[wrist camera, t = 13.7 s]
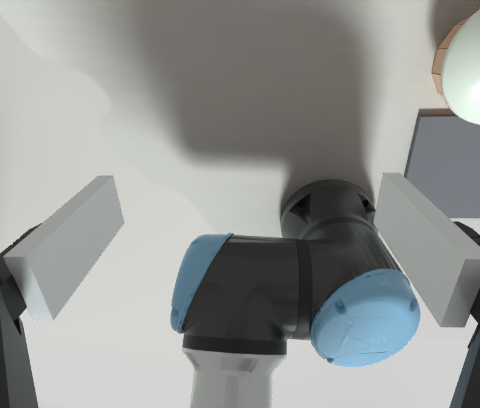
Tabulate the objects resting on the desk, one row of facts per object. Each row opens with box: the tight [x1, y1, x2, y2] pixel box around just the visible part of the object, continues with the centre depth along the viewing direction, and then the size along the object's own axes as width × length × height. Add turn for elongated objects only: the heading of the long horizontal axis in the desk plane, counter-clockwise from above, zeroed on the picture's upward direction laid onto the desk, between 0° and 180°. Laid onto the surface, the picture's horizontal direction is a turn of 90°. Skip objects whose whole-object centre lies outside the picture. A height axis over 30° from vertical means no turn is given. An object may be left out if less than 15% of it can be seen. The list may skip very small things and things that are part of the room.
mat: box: [404, 115, 480, 218], centre depth 47 cm, size 16×16×1 cm
